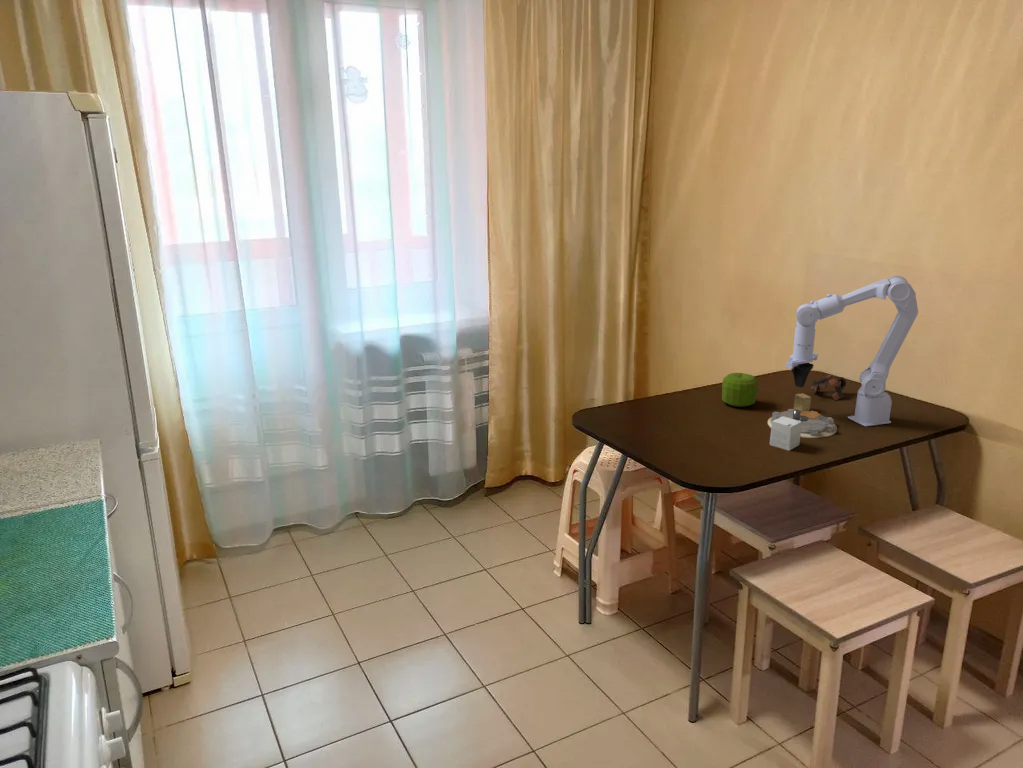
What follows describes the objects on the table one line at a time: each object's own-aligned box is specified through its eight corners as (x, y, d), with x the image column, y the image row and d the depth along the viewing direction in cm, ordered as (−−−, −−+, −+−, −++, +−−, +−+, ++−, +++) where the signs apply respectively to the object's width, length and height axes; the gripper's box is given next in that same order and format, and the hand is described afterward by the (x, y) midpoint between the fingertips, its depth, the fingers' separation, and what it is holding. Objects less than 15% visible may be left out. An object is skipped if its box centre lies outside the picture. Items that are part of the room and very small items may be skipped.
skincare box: (779, 439, 215) (782, 415, 213) (799, 445, 211) (802, 420, 208) (768, 445, 211) (771, 421, 209) (789, 451, 207) (791, 426, 205)
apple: (723, 409, 239) (725, 377, 236) (718, 398, 250) (720, 367, 246) (759, 410, 238) (762, 378, 235) (752, 399, 248) (755, 368, 245)
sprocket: (786, 409, 237) (787, 392, 235) (843, 422, 225) (846, 405, 223) (760, 424, 224) (761, 407, 222) (819, 439, 212) (821, 421, 211)
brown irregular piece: (829, 404, 244) (819, 381, 244) (812, 408, 253) (801, 385, 254) (857, 390, 247) (847, 367, 248) (839, 394, 256) (828, 372, 257)
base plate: (808, 411, 236) (808, 410, 236) (851, 433, 218) (852, 432, 218) (754, 418, 231) (754, 417, 231) (794, 441, 213) (794, 440, 213)
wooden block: (793, 409, 239) (795, 394, 237) (801, 408, 240) (803, 393, 238) (801, 413, 235) (803, 398, 234) (809, 412, 236) (811, 397, 234)
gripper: (804, 337, 234) (800, 378, 238) (778, 345, 226) (774, 388, 230) (825, 341, 229) (821, 383, 233) (800, 350, 220) (795, 393, 224)
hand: (799, 386), depth 231 cm, fingers closed
